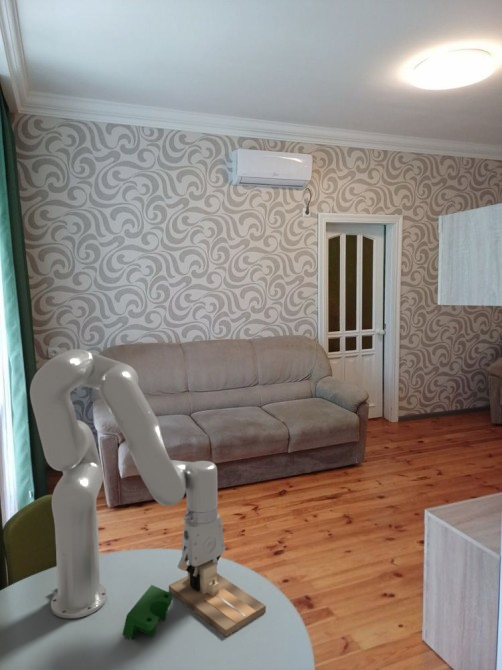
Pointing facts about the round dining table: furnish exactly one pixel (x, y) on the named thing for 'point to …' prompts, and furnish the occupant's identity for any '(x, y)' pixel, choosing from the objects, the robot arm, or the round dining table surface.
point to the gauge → (208, 578)
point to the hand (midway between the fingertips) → (202, 583)
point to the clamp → (147, 612)
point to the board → (220, 604)
